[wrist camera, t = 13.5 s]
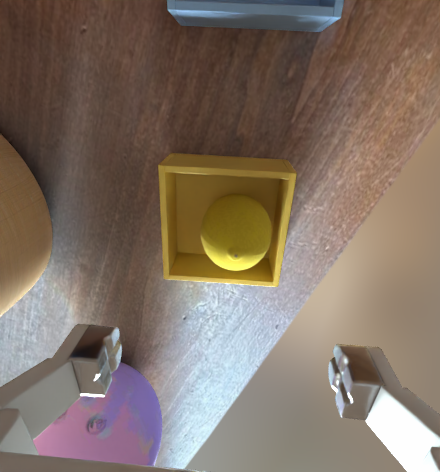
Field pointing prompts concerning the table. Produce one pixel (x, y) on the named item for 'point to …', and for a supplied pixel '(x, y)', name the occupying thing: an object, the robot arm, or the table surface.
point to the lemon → (236, 232)
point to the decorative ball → (109, 424)
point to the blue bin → (257, 13)
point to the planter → (21, 228)
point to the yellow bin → (201, 198)
